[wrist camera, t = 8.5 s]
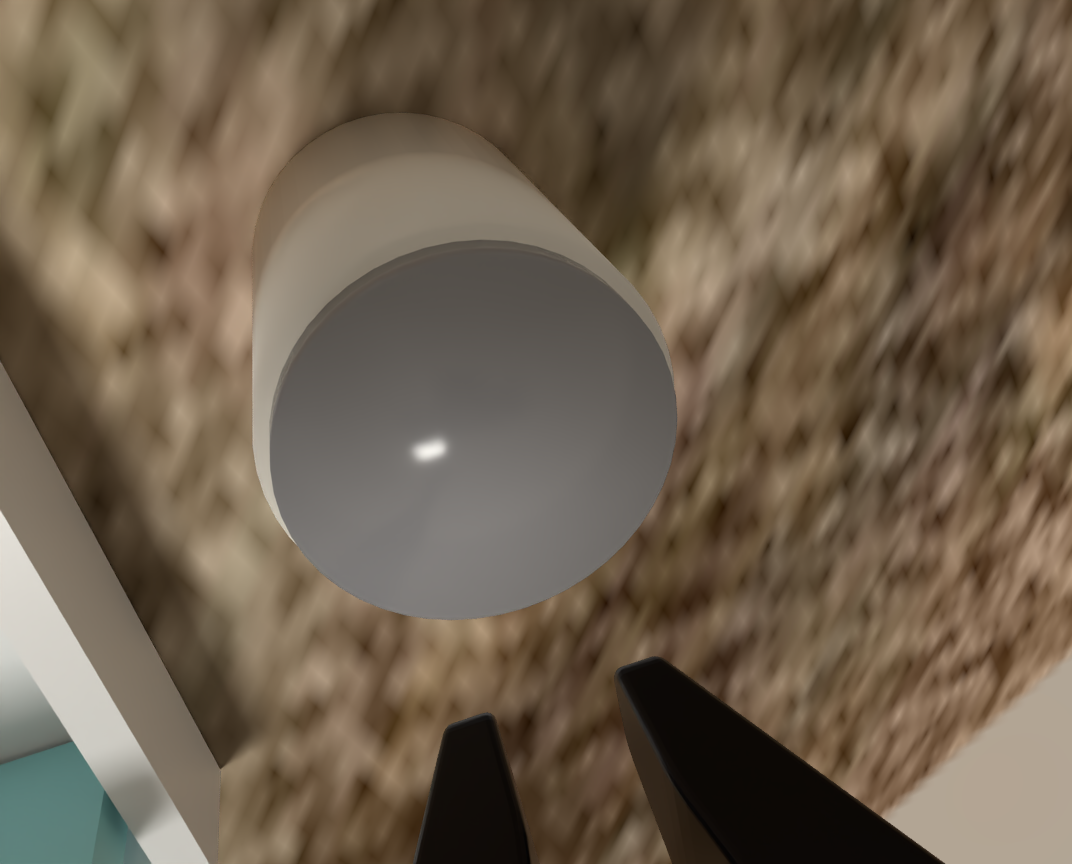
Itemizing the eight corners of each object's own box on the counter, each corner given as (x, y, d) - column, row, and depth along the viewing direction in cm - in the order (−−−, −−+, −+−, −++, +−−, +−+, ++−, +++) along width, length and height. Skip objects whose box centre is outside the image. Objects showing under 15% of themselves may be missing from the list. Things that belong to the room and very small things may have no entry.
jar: (566, 350, 21) (711, 558, 14) (306, 427, 20) (332, 682, 13) (513, 78, 18) (664, 181, 11) (206, 156, 17) (178, 315, 11)
